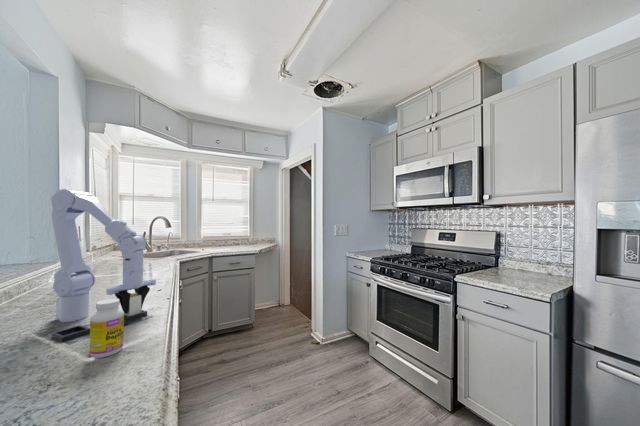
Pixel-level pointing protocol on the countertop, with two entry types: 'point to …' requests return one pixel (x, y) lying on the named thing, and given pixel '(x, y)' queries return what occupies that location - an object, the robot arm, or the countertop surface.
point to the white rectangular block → (134, 304)
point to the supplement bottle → (106, 329)
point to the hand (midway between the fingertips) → (132, 310)
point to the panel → (83, 330)
